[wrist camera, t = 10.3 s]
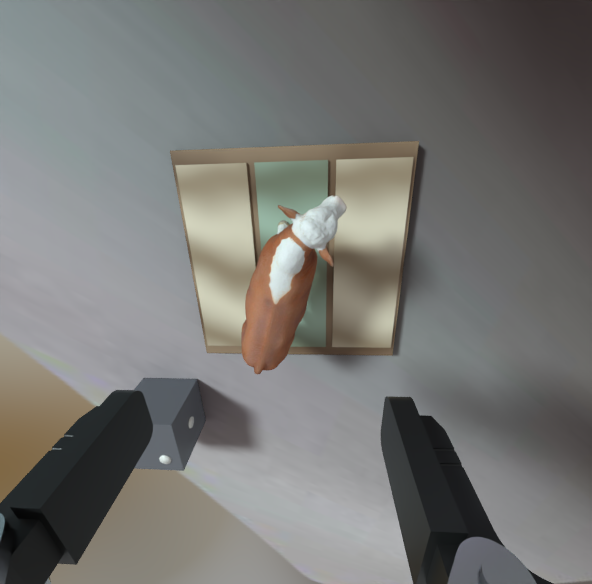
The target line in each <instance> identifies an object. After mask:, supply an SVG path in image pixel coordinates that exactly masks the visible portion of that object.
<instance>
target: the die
mask: <svg viewBox="0 0 592 584" xmlns="http://www.w3.org/2000/svg"><path fill="white" fill-rule="evenodd" d="M134 390H136V391H141V392H142V393H143V395H144V398H145V401H146V404H147V407H148V410H149V413H150V416H151V419H152V423H153V433H152V437H151V440H150V442H149V444H148V446H147V447H146V449H145V451H144V452H143V454H142V456H141V457H140V459H139V461H138V462H137V464H136V466H135V467H134V468H139V469H140V468H141V469H161V470H183V471H184V469H185V467H186V464H187V462H188V460H189V457H190V455H191V453H192V451H193V448H194V446H195V444H196V442H197V439H198V437H199V435H200V432H201V430H202V428H203V426H204V423H205V421H206V419H205V414H204V410H203V405H202V400H201V395H200V390H199V386H198V381H197V379H164V378H143V380H142V381H141V382H140V383H139V384H138V386H137V387H136V388H135V389H134Z"/></svg>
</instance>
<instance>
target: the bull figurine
mask: <svg viewBox="0 0 592 584" xmlns="http://www.w3.org/2000/svg"><path fill="white" fill-rule="evenodd" d="M278 208H279V209H280V210H282V211H283V212H284V214H285V215H286V216H287V217H288V218H290V219H291V220H292V222H293V223H292V224H289V223H288V222H287V221H285V220H282V221H280V222H279V224H278V232H277V234H276V235H274V236H272V237H271V238H270V239H269V240H268V241H267V243H266V244H265V246H264V247H263V249H262V251H261V253H260V256H259V259H258V263H257V267H256V269H255V271H254V273H253V275H252V278H251V281H250V284H249V288H248V290H247V293H246V300H245V313H246V320H245V322H244V323H243V326H242V332H241V344H242V355H243V358H244V360H245V362H246V363H247V364H248V365H249V366H251V367H254V372H255V373H256V374H260V373H261V372H262V370H272V369H275V368H276V367H277V366H278V365H279V364H280V363H281V362H282V361H283V360H284V358H285V357H286V356H287V354H288V351H289V348H290V346H291V344H292V343H293V340H294V337H295V331H296V329H297V327H298V325H299V323H300V322H301V320H302V318H303V316H304V314H305V311H306V307H307V301H308V297H309V293H310V290H311V286H312V282H313V279H314V275H315V272H316V266H317V253H316V251H315V249H317V250H318V252H319V254H320V256H321V257H322V258H323V259H324V260H325V261H327V262H328V263H329V264H330V265H331V266H332V267H333V266H334V262H333V260H332V257H331V255H330V254H329V252H328V248H327V242H329V241H330V240H331V239H333V238H334V236H335V234H336V232H337V226H338V219H339V218H340V217H341V216H342V215H343V214H344V213H345V211H346V209H347V207H346V204H345V203H344V201H343V200H342V199H341V198H340V197H339V196H334V195H332V196H329V197H328V198H326V199H325V200H324V201H323V202H322V203H321V205H319V206H317V207H315V208H313V209H310V210H308V211H307V212H306V213H305V214H303V215H301V214H299V213H298V212H297V211H295V210H293V209H289V208H285V207H283V206H281V205H278Z"/></svg>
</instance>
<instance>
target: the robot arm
mask: <svg viewBox="0 0 592 584" xmlns="http://www.w3.org/2000/svg"><path fill="white" fill-rule="evenodd" d="M152 433H153V423H152V419H151V416H150V413H149V410H148V407H147V404H146V401H145V398H144V395H143V393H142V392H141V391H136V390H116V391H114V392H112V393H111V394H110V395H109V396H108V397H107V399H106V400H105V401H104V402H103V403H102V404H101V405H100V406H96V407H95V408H94V409H92V410H91V411H89V412H88V413H87V414H85V415H84V416H82V417H81V418H79V419H78V420H77V421H76V423H75V424H74V425H73V426H72V427H71V428H70V429H69V430H68V431H67V432H66V433H65V434H64V437H63V438H61V439H60V440H59V441H58V442H57V443H56V444H55V445H54V446H53V447H52V450H51V451H48V452H47V454H46V455H45V456H44V457H43V458H42V459H41V460H40V461H39V462H38V463H37V464H36V465H35V467H34V468H33V469H32V470H31V471H30V472H29V473H28V474H27V475H26V476H25V477H24V478H23V479H22V480H21V481H20V483H19V484H18V485H17V486H16V487H15V488H14V489H13V490H12V491H11V492H10V493H9V494H8V495H7V497H6V498H5V499H4V500H3V501H2V502H1V503H0V584H51V580H50V577H49V576H50V575H51V573H52V571H53V570H54V569H55V567H56V566H57V564H58V563H60V564H75V565H76V564H77V563H78V561H79V559H80V558H81V556H82V554H83V553H84V551H85V549H86V548H87V546H88V544H89V543H90V541H91V539H92V538H93V536H94V534H95V533H96V531H97V529H98V528H99V526H100V524H101V523H102V521H103V519H104V517H105V516H106V514H107V512H108V511H109V509H110V508H111V506H112V504H113V503H114V501H115V499H116V498H117V496H118V494H119V493H120V491H121V489H122V488H123V486H124V484H125V482H126V481H127V479H128V477H129V476H130V474H131V472H132V471H133V469H134V467H135V466H136V464H137V462H138V461H139V459H140V457H141V456H142V454H143V452H144V451H145V449H146V447H147V446H148V444H149V442H150V440H151V437H152ZM381 446H382V452H383V456H384V460H385V465H386V469H387V473H388V478H389V482H390V486H391V490H392V495H393V499H394V503H395V507H396V512H397V516H398V520H399V524H400V529H401V533H402V537H403V542H404V546H405V550H406V554H407V559H408V563H409V567H410V571H411V576H412V580H413V584H553V583H551V582H549V581H547V580H544V579H542V578H541V577H539V576H537V575H536V574H534V573H532V572H531V571H530V570H528V569H527V568H526V567H525V565H524V564H523V563H522V562H521V561H520V560H519V559H518V558H517V557H516V556H515V555H514V554H513V553H511V552H510V551H509V550H508V549H506V548H505V546H504V545H503V544H502V542H501V541H500V540H499V538H498V536H497V535H496V533H495V531H494V529H493V527H492V525H491V523H490V521H489V519H488V517H487V515H486V513H485V511H484V509H483V507H482V505H481V503H480V501H479V498H478V496H477V494H476V492H475V490H474V488H473V486H472V484H471V482H470V480H469V478H468V476H467V474H466V472H465V470H464V468H462V466H461V462H460V460H459V458H458V456H457V454H456V452H454V447H453V445H452V443H451V441H450V439H449V437H448V435H447V433H446V431H445V430H444V429H443V428H442V427H441V426H440V425H439V424H438V423H437V422H436V420H435V419H434V418H433V417H432V416H420V415H419V413H418V411H417V408H416V406H415V403H414V401H413V399H412V398H411V397H386V398H385V402H384V410H383V418H382V426H381Z"/></svg>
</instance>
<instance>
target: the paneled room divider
mask: <svg viewBox="0 0 592 584" xmlns="http://www.w3.org/2000/svg"><path fill="white" fill-rule="evenodd" d="M418 145H419V141H410V142H384V143H358V144H332V145H306V146H280V147H254V148H228V149H202V150H177V151H170V154H171V159H172V165H173V170H174V176H175V181H176V187H177V192H178V198H179V203H180V208H181V214H182V219H183V225H184V230H185V236H186V241H187V247H188V252H189V258H190V263H191V268H192V274H193V279H194V285H195V290H196V296H197V301H198V307H199V312H200V318H201V323H202V328H203V334H204V339H205V345H206V350H207V353H242V344H241V332H242V326H243V323H244V322H245V320H246V313H245V300H246V293H247V290H248V288H249V284H250V281H251V278H252V275H253V273H254V271H255V269H256V267H257V263H258V259H259V256H260V253H261V251H262V249H263V247H264V246H265V244H266V243H267V241H268V240H269V239H270V238H271V237H272V236H274V235H276V234H277V232H278V224H279V222H280V221H282V220H285V221H287V222H288V223H289V224H292V223H293V222H292V220H291V219H290V218H288V217H287V216H286V215H285V214H284V212H283V211H282V210H280V209H279V208H278V205H281V206H283V207H285V208H289V209H293V210H295V211H297V212H298V213H299V214H301V215H303V214H305V213H306V212H307V211H308V210H310V209H313V208H315V207H317V206H319V205H321V203H322V202H323V201H324V200H325V199H326V198H328V197H329V196H332V195H334V196H339V197H340V198H341V199H342V200H343V201H344V203H345V204H346V207H347V209H346V211H345V213H344V214H343V215H342V216H341V217H340V218H339V219H338V226H337V232H336V234H335V236H334V238H333V239H331V240H330V241H329V242H327V248H328V252H329V254H330V255H331V257H332V260H333V262H334V266H333V267H332V266H331V265H330V264H329V263H328V262H327V261H325V260H324V259H323V258H322V257H321V256H320V254H319V252H318V250H317V249H315V251H316V253H317V266H316V272H315V275H314V279H313V282H312V286H311V290H310V293H309V297H308V301H307V307H306V311H305V314H304V316H303V318H302V320H301V322H300V323H299V325H298V327H297V329H296V331H295V337H294V340H293V343H292V344H291V346H290V348H289V351H288V354H324V355H392V354H393V346H394V338H395V330H396V322H397V314H398V306H399V298H400V290H401V282H402V274H403V266H404V258H405V250H406V242H407V234H408V226H409V218H410V210H411V202H412V193H413V185H414V177H415V169H416V161H417V153H418Z"/></svg>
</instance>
